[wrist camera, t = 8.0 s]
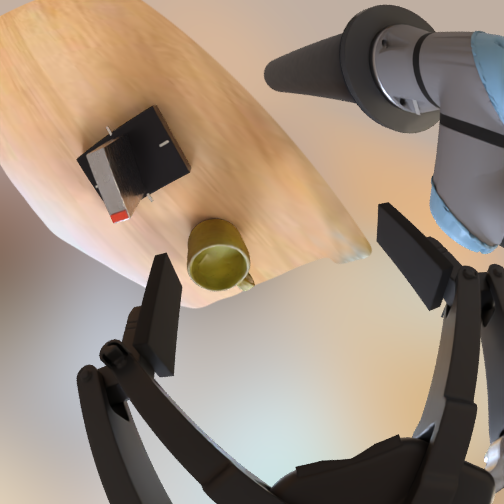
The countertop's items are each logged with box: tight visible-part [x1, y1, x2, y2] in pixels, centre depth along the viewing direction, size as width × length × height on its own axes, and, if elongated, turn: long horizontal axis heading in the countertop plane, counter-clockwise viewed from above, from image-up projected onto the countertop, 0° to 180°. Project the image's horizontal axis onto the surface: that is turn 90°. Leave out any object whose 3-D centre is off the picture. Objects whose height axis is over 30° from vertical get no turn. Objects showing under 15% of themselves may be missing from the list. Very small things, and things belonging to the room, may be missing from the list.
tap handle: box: [86, 133, 146, 223], centre depth 31 cm, size 9×2×9 cm, turn 11°
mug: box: [187, 219, 255, 291], centre depth 44 cm, size 12×10×10 cm
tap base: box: [76, 105, 191, 202], centre depth 35 cm, size 14×13×3 cm
